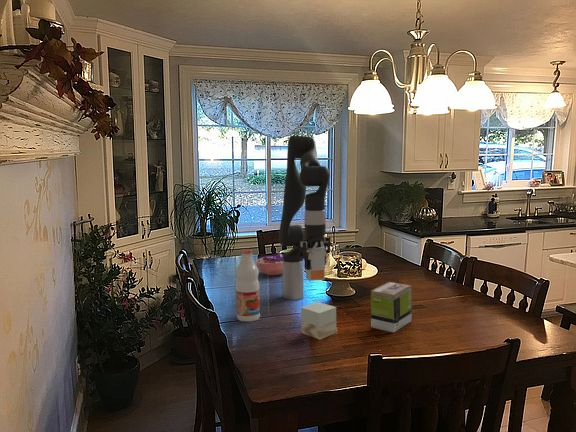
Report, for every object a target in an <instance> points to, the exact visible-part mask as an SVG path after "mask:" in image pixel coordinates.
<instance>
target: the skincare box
mask: <svg viewBox="0 0 576 432" xmlns="http://www.w3.org/2000/svg"><path fill="white" fill-rule="evenodd" d="M311 249H312V248H308V250H309V251H311ZM308 254H309V253H308ZM307 256H308V255H307ZM310 260H311V269H310V270H306V269H305V279H306V280H307V281H308V282H311V281H312V282H314V281H324V280H326V279H325V277H326V276H325V275H326V274H325V273H326V271H325V268H326V264H325V248H324V247H317V248H315V251H314V253H313V254H312V256H311V258H310Z"/></svg>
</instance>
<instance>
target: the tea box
mask: <svg viewBox="0 0 576 432" xmlns="http://www.w3.org/2000/svg"><path fill="white" fill-rule="evenodd" d="M412 317H413V316H412V285H409V284H404V283H397V282H391V281H388V282H386V283H384V284H382V285H380V286H378V287H376V288H373V289H372V290H371V291H370V326H371V328H373V329H376V330H382V331H385V332H389V333H396V332H397V331H399V330H400V329H402V328H404V326H406V325H408V324H409V323H411V322H412V319H413V318H412Z"/></svg>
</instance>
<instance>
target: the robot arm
mask: <svg viewBox="0 0 576 432" xmlns="http://www.w3.org/2000/svg"><path fill="white" fill-rule="evenodd" d="M316 145H317V144H316V141H315V139H314V138H313V137H312V136H309V135H290V137H289V138H288V142H287V153H286V154H287V155H286V160H287V161H286V174H285V182H284V191H283V203H282V213H281V214H282V215H281V220H280V225H279V230H278V231H279V232H278V241H279V242H278V243H280V245H281V246H282V247H293V248H291V250H288V251H287V252H285V253H283V254H282V255H283V273H282V275H281V297H283V299H286V300H291V301H292V300H293V301H297V300H301V299H303V298H304V269H305V271H306V270H310V269H311V260H310V258H311V256H312V254H313V253H314V251H315V248H317V247H324V248H325V265H326V264H327V256H328V254H330V253H331V237H330V236H326V233H327V232H326V230H327V229H326V228H327V227H326V226H327V225H326V219H327V218H326V217H327V216H326V205H325V204H326V192H327V188H328V185H329V181H330V179H331V178H330V177H331V174H330V169H329V168H328V167H327V166H323V165H321V163H320V161H319V159H318V151H317V146H316ZM296 159H300V161H299V165H300V172H299V169H298V168H297V166H296ZM307 187H318V188H317V190H316V191H313V192H310V193H309V192H308V193H307V194H306V192H307ZM303 205H304V217H303V218H304V227H303V226H302V225H300V224H293V225H291V223H292V221H293V219H294V217H295V216H296V215H297V214H298V212H299V210H300V209H301V208H302V207H303ZM305 238H306V239H305ZM308 248H312V249H311V251H309V250H308ZM308 253H309V254H308ZM307 255H308V256H307Z"/></svg>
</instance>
